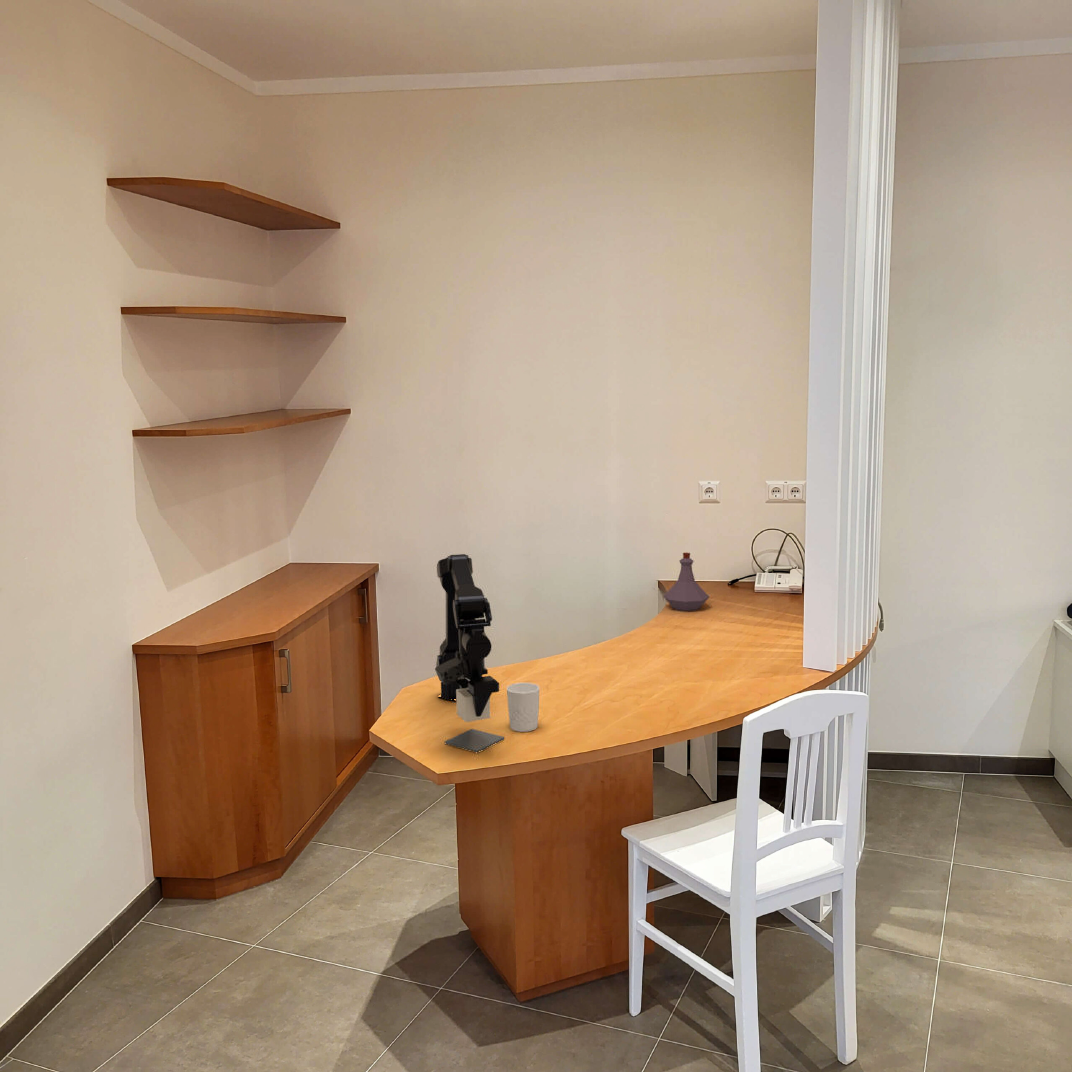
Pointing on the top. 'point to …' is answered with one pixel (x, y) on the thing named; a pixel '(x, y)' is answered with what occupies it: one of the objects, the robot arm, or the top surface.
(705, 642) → the top surface
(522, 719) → the white cup
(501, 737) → the coaster
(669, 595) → the flask
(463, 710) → the cube
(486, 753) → the top surface
